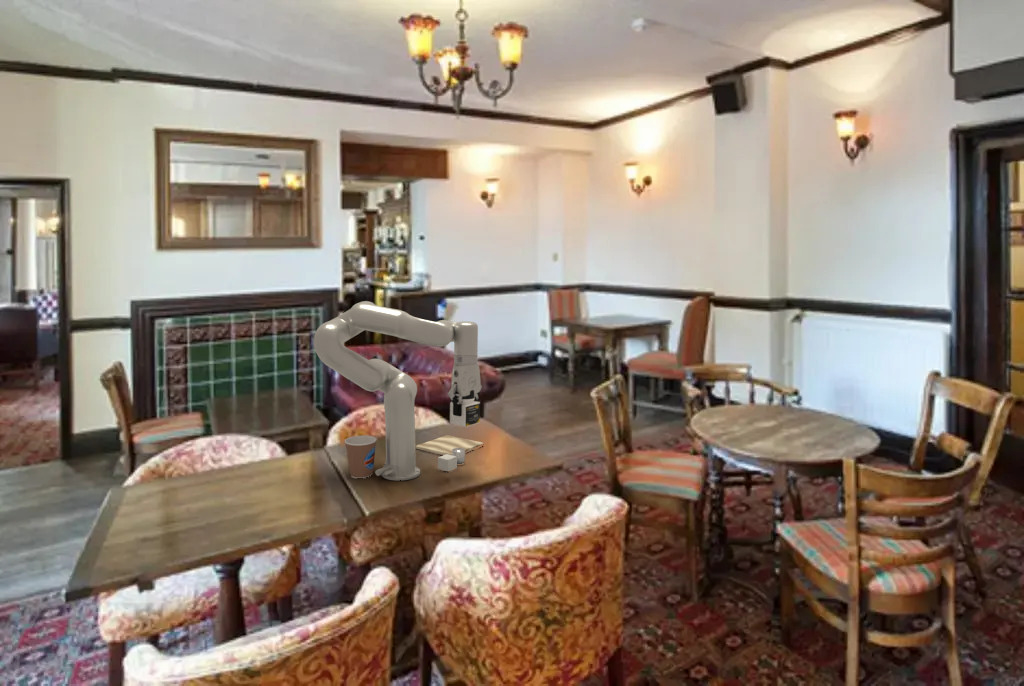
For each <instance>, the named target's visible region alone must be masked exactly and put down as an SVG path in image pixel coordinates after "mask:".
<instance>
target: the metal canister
mask: <svg viewBox="0 0 1024 686" xmlns="http://www.w3.org/2000/svg"><path fill="white" fill-rule="evenodd" d="M465 455H466V454H465V449H463V448H454V449H452V456H456V457H457V464H462V463H464V462H465V460H466V456H465Z"/></svg>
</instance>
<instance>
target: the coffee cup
mask: <svg viewBox="0 0 1024 686" xmlns="http://www.w3.org/2000/svg"><path fill="white" fill-rule="evenodd" d="M377 441H378V438H377V437H375V436H374V435H373V436H372V435H355V436H349V437H347V438H346V439H344V443H345V448H346V449H345V450H346V454H347V455H346V456H347V462H348V468H349V469H348V470H349V474H350V477H351V478H353V479H357V478H363V479H367V478H366V477H368V478H370V477H371V475H372V476H373V472H374V467H375V456H376V448H377V447H376V444H377ZM369 476H370V477H369Z"/></svg>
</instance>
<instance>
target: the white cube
mask: <svg viewBox="0 0 1024 686" xmlns="http://www.w3.org/2000/svg"><path fill="white" fill-rule="evenodd" d="M455 468H457V469H458V466H457V457H456V456H452V455H448V454H446V455H443V456H438V457H437V470H438V469H441V470H444V471H451V470H453V469H455ZM451 472H452V471H451Z"/></svg>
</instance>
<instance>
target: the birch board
mask: <svg viewBox="0 0 1024 686" xmlns="http://www.w3.org/2000/svg"><path fill="white" fill-rule="evenodd" d="M482 444H484V442H481V441H476V440H472V439H469V438H467V439H466V438H462V437H458V436H453V435H449V434H446V435H443V436H440V437H438V438H435V439H431V440H429V441H426V442H422V443H419V444H417V445H416V444H415V449H416V448H417V449H421V450H425V451H430V452H435V453H438V454H443V455H446V454H448V455H452V449H454V448H463V449H465V452H466V451H468V450H471V449H473V448H475V447H478V446H480V445H482ZM484 445H485V444H484Z"/></svg>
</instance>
